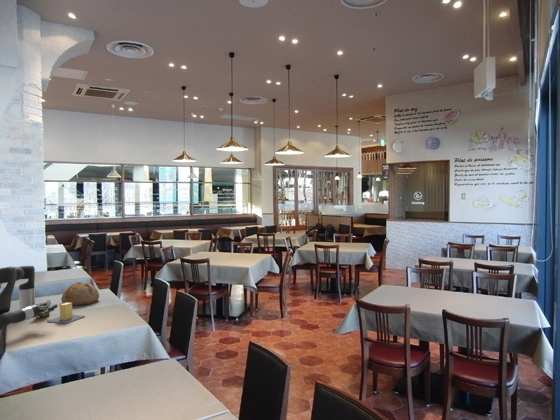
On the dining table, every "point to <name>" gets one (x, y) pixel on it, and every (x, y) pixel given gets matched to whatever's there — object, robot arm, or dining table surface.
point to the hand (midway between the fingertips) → (51, 305)
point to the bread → (80, 294)
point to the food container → (44, 315)
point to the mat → (74, 318)
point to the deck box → (65, 311)
